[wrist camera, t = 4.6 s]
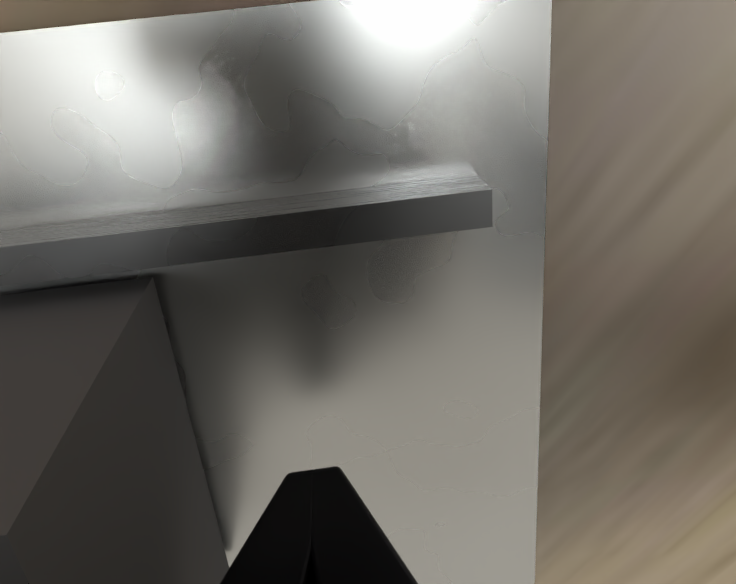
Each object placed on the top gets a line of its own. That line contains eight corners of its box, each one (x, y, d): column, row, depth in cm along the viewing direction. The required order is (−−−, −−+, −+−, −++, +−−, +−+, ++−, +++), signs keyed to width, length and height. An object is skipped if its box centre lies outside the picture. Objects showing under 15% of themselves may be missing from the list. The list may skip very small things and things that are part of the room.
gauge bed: (526, -20, 8) (731, -50, 4) (517, 590, 14) (610, 840, 9) (-726, 108, 8) (-1881, 217, 4) (-240, 704, 13) (-495, 1029, 9)
